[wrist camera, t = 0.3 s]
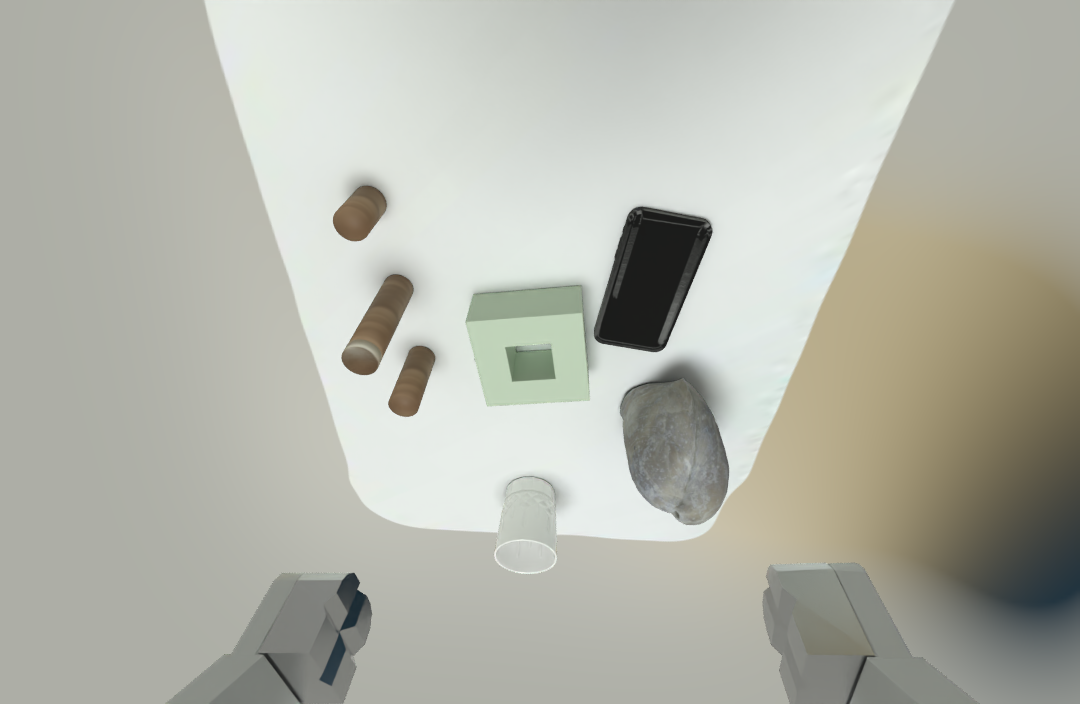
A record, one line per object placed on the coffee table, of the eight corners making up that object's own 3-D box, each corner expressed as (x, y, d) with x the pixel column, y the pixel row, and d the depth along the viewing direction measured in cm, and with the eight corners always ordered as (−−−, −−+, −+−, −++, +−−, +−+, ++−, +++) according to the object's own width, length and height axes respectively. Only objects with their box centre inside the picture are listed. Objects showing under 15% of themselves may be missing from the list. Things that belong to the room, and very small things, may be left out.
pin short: (348, 187, 45) (327, 209, 41) (380, 184, 45) (362, 205, 41) (360, 219, 47) (340, 242, 43) (390, 216, 47) (374, 239, 43)
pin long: (379, 275, 51) (336, 347, 41) (408, 273, 50) (371, 345, 41) (388, 301, 52) (349, 376, 43) (417, 299, 52) (383, 373, 43)
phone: (716, 224, 45) (662, 353, 54) (713, 219, 46) (661, 347, 55) (630, 207, 44) (590, 341, 53) (629, 203, 45) (590, 335, 54)
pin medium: (405, 347, 56) (384, 395, 50) (431, 345, 56) (413, 394, 49) (412, 367, 58) (393, 417, 51) (438, 366, 57) (421, 415, 51)
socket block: (473, 294, 51) (465, 321, 47) (581, 285, 50) (582, 312, 46) (492, 376, 58) (487, 406, 54) (588, 369, 57) (589, 400, 53)
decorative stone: (627, 355, 55) (643, 462, 43) (722, 359, 55) (764, 468, 43) (612, 447, 65) (622, 556, 53) (694, 451, 64) (722, 562, 52)
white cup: (553, 511, 73) (551, 577, 66) (500, 504, 73) (491, 570, 65) (562, 477, 69) (561, 544, 61) (505, 470, 68) (496, 536, 60)
